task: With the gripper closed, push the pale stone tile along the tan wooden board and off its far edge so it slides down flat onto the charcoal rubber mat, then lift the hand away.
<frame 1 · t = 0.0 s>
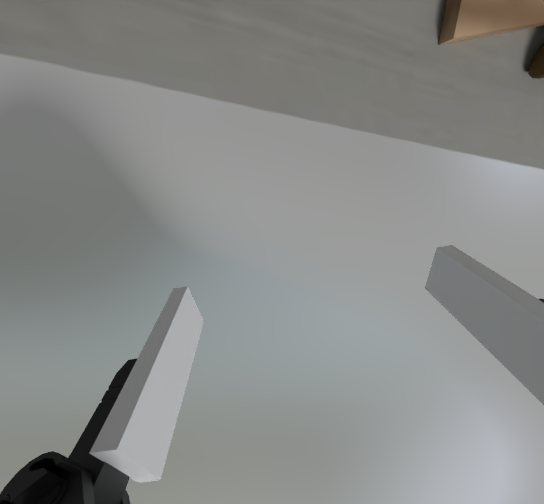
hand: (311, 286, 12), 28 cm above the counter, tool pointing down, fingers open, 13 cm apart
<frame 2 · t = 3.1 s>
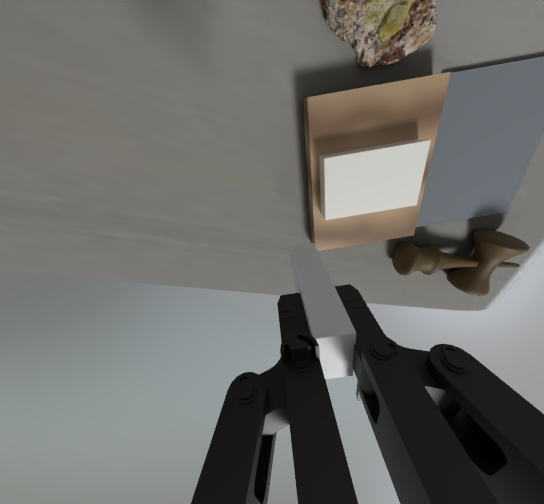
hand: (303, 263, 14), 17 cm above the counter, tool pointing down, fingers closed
mat: (478, 154, 27), on the counter
mineral rock: (373, 13, 20), on the counter
tan wooden board: (361, 174, 28), on the counter
stone tile: (365, 179, 26), point 2 cm above the counter, touching tan wooden board
kendama: (446, 251, 36), on the counter
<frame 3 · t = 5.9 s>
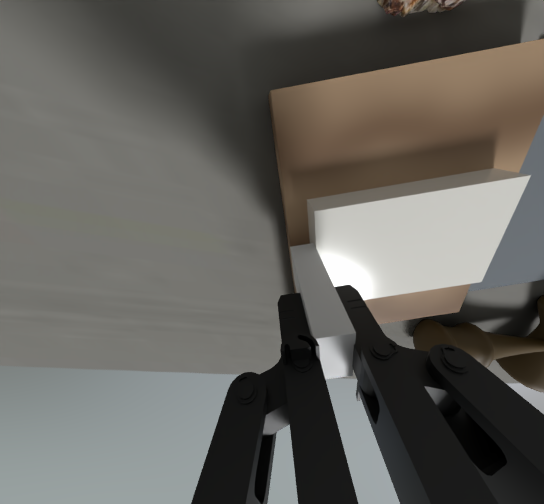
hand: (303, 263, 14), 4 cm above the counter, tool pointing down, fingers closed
tan wooden board: (376, 220, 17), on the counter
stone tile: (390, 236, 14), point 3 cm above the counter, touching gripper
kendama: (492, 322, 25), on the counter
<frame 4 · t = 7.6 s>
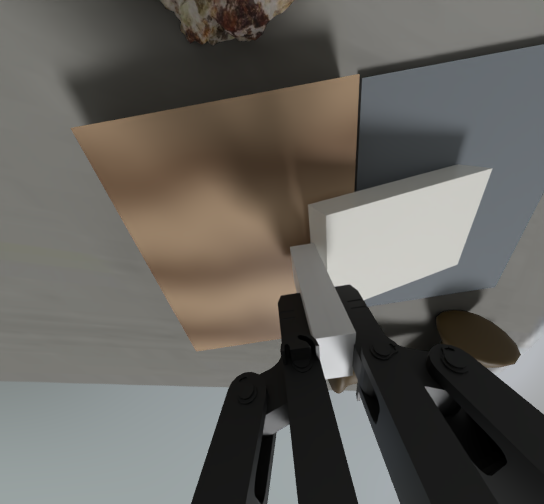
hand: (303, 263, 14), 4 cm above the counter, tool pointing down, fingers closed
mat: (443, 209, 16), on the counter
tan wooden board: (251, 241, 17), on the counter
stone tile: (382, 233, 15), point 2 cm above the counter, tilted 15°, touching tan wooden board, gripper
kendama: (404, 337, 25), on the counter
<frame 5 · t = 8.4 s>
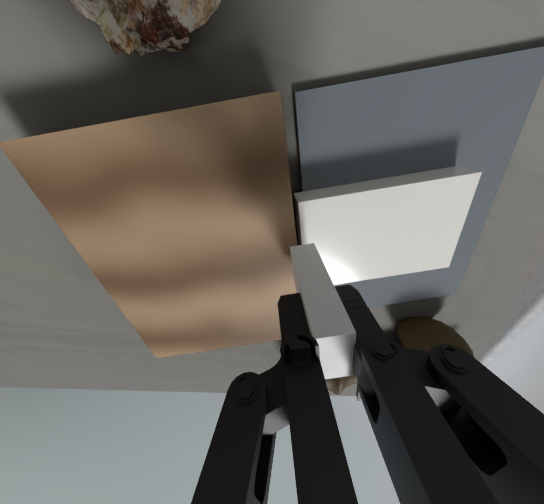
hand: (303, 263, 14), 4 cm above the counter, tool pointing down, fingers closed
mat: (394, 218, 17), on the counter
tan wooden board: (205, 249, 17), on the counter
stone tile: (369, 226, 16), resting on mat
kendama: (371, 343, 25), on the counter
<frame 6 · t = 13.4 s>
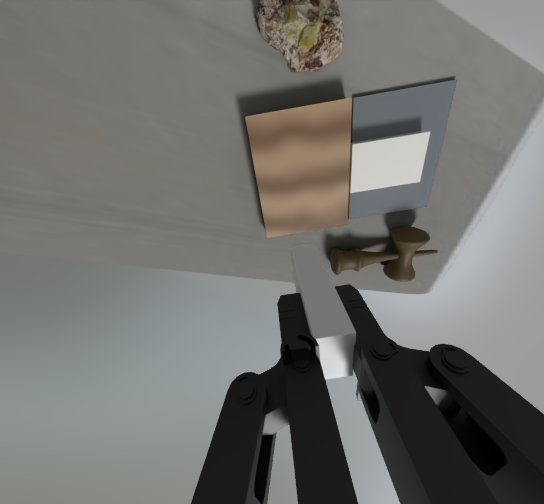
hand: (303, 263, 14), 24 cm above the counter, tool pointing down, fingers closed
mat: (393, 159, 34), on the counter
mineral rock: (298, 30, 26), on the counter
tan wooden board: (300, 174, 34), on the counter
stone tile: (381, 162, 34), resting on mat
kendama: (376, 248, 43), on the counter
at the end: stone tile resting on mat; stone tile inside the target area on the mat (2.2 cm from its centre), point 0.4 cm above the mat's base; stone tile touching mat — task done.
